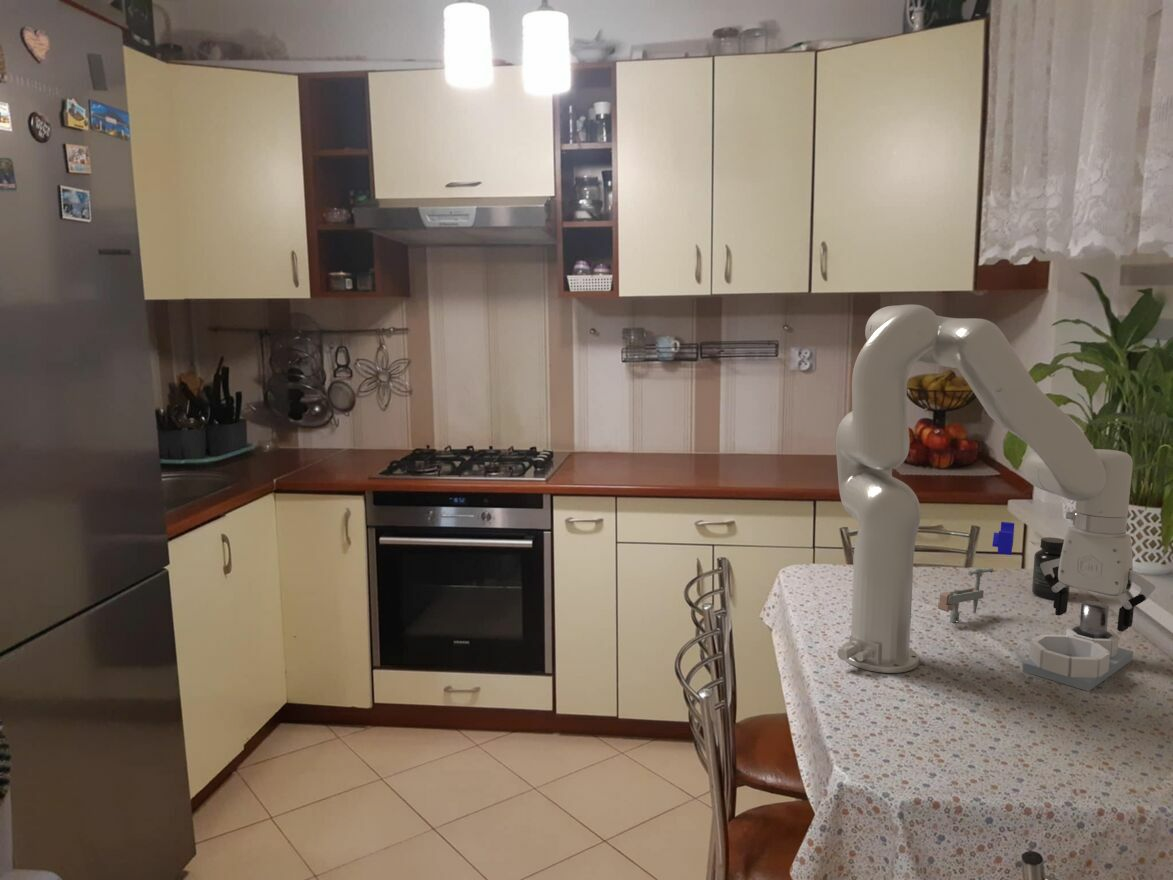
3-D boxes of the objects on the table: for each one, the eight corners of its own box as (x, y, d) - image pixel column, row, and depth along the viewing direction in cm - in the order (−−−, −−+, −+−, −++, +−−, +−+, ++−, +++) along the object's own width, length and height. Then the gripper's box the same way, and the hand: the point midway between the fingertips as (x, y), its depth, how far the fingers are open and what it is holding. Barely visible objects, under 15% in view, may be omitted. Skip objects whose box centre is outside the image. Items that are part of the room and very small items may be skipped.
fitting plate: (1090, 692, 130) (1092, 665, 130) (1019, 671, 138) (1021, 645, 138) (1134, 660, 142) (1136, 634, 142) (1067, 642, 151) (1069, 618, 150)
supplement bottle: (1049, 589, 180) (1053, 534, 179) (1076, 598, 174) (1081, 542, 172) (1024, 592, 178) (1027, 537, 177) (1051, 602, 172) (1055, 545, 170)
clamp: (946, 626, 157) (951, 575, 156) (935, 623, 159) (941, 572, 158) (991, 617, 166) (997, 567, 165) (981, 614, 168) (986, 565, 167)
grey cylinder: (1100, 655, 141) (1103, 610, 139) (1074, 649, 144) (1077, 604, 142) (1108, 650, 143) (1112, 604, 142) (1082, 643, 146) (1086, 599, 145)
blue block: (993, 543, 218) (994, 521, 217) (1012, 545, 216) (1014, 522, 215) (990, 554, 207) (992, 531, 207) (1011, 557, 205) (1012, 533, 204)
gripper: (1036, 517, 145) (1028, 612, 147) (1151, 537, 131) (1141, 641, 134) (1054, 511, 149) (1046, 603, 152) (1167, 530, 136) (1157, 630, 139)
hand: (1091, 621), depth 143 cm, fingers open, 9 cm apart
